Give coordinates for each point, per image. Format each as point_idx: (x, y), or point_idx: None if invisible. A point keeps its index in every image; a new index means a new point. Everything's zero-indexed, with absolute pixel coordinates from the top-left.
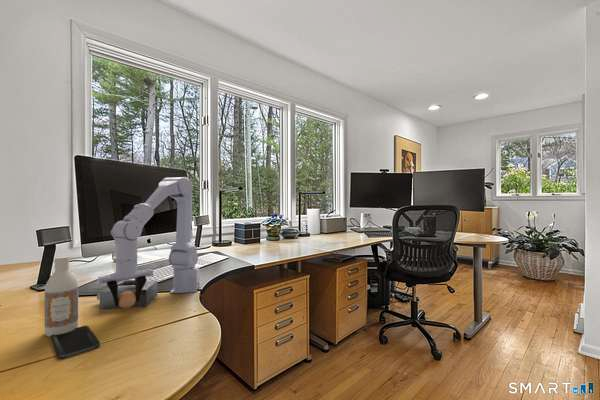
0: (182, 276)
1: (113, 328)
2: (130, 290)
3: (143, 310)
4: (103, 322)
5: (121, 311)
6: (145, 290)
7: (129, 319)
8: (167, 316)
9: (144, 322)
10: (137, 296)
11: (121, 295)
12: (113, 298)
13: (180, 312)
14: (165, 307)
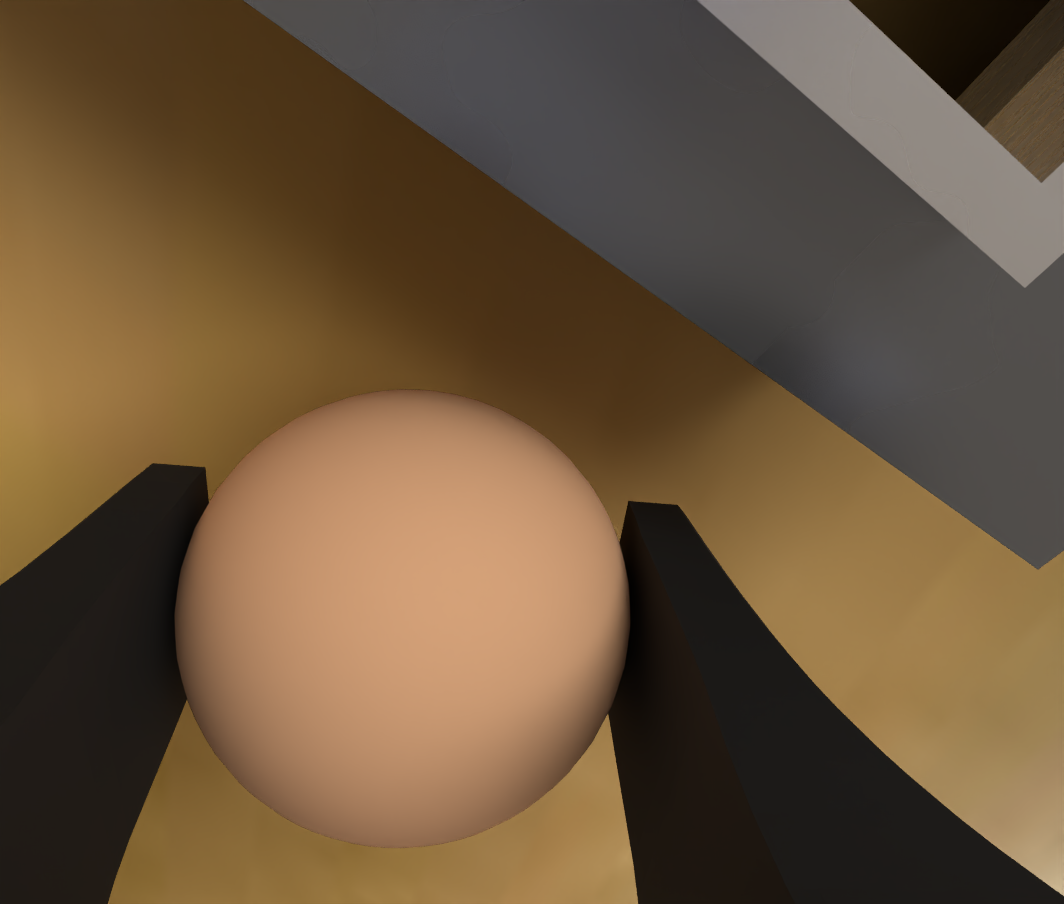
0: None
1: (181, 785)
2: (645, 286)
3: (713, 465)
4: (38, 536)
5: (366, 215)
6: (1009, 533)
7: None
8: None
9: (536, 838)
10: (626, 753)
11: (238, 776)
12: (58, 551)
13: (1004, 837)
14: (1032, 577)
